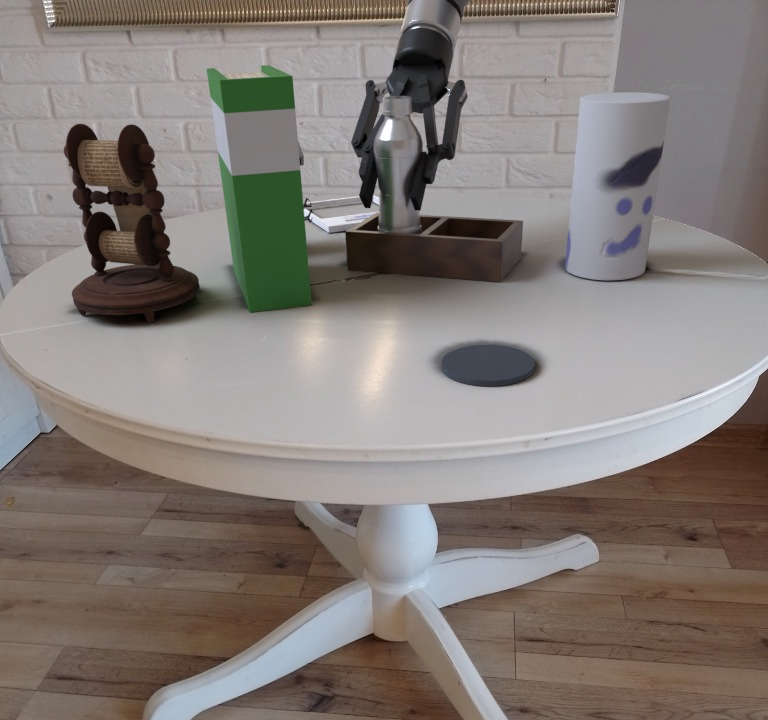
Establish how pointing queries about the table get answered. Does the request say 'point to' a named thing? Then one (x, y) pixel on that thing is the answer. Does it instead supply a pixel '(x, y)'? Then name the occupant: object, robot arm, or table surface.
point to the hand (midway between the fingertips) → (389, 202)
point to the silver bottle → (397, 166)
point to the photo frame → (342, 221)
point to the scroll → (124, 227)
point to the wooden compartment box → (438, 248)
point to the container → (615, 183)
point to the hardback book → (262, 185)
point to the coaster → (488, 365)
